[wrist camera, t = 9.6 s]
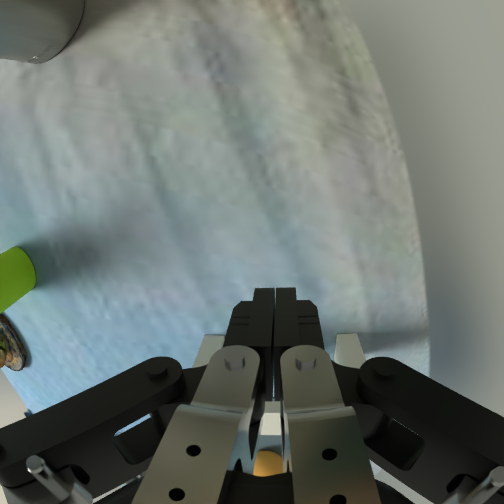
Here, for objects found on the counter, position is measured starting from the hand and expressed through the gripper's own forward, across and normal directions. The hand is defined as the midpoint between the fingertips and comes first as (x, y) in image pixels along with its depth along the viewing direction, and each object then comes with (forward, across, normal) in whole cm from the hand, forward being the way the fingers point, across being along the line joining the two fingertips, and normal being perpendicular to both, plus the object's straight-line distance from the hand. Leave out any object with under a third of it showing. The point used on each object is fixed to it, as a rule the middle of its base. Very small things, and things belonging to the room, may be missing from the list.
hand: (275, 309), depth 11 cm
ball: (+11, +2, +34) cm, 35 cm away
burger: (+15, +44, +17) cm, 49 cm away
